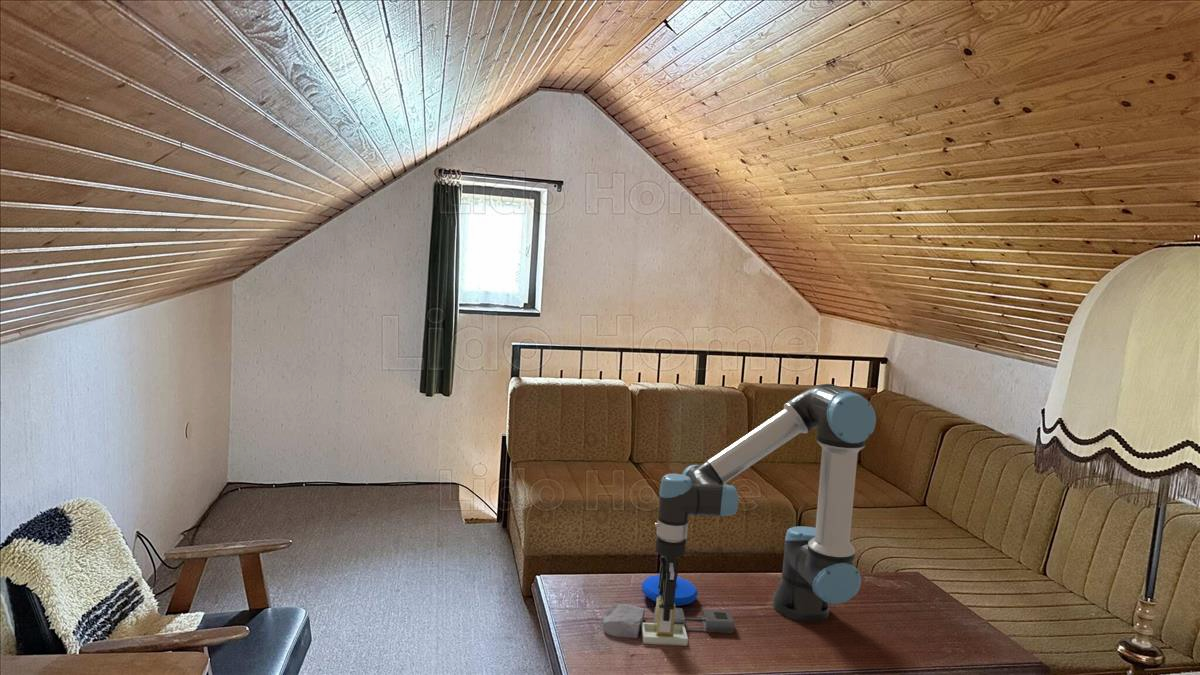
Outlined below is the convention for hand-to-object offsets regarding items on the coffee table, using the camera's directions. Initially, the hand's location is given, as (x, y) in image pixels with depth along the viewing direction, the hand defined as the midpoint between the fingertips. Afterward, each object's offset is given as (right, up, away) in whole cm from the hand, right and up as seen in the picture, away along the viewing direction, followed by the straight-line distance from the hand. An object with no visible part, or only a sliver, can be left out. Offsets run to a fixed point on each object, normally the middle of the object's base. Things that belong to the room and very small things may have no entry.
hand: (663, 625), depth 182 cm
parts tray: (0, -3, 0) cm, 3 cm away
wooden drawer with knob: (0, -3, 0) cm, 3 cm away
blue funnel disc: (+3, -1, +21) cm, 21 cm away
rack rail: (+8, -3, +7) cm, 11 cm away
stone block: (-10, -2, +5) cm, 12 cm away
